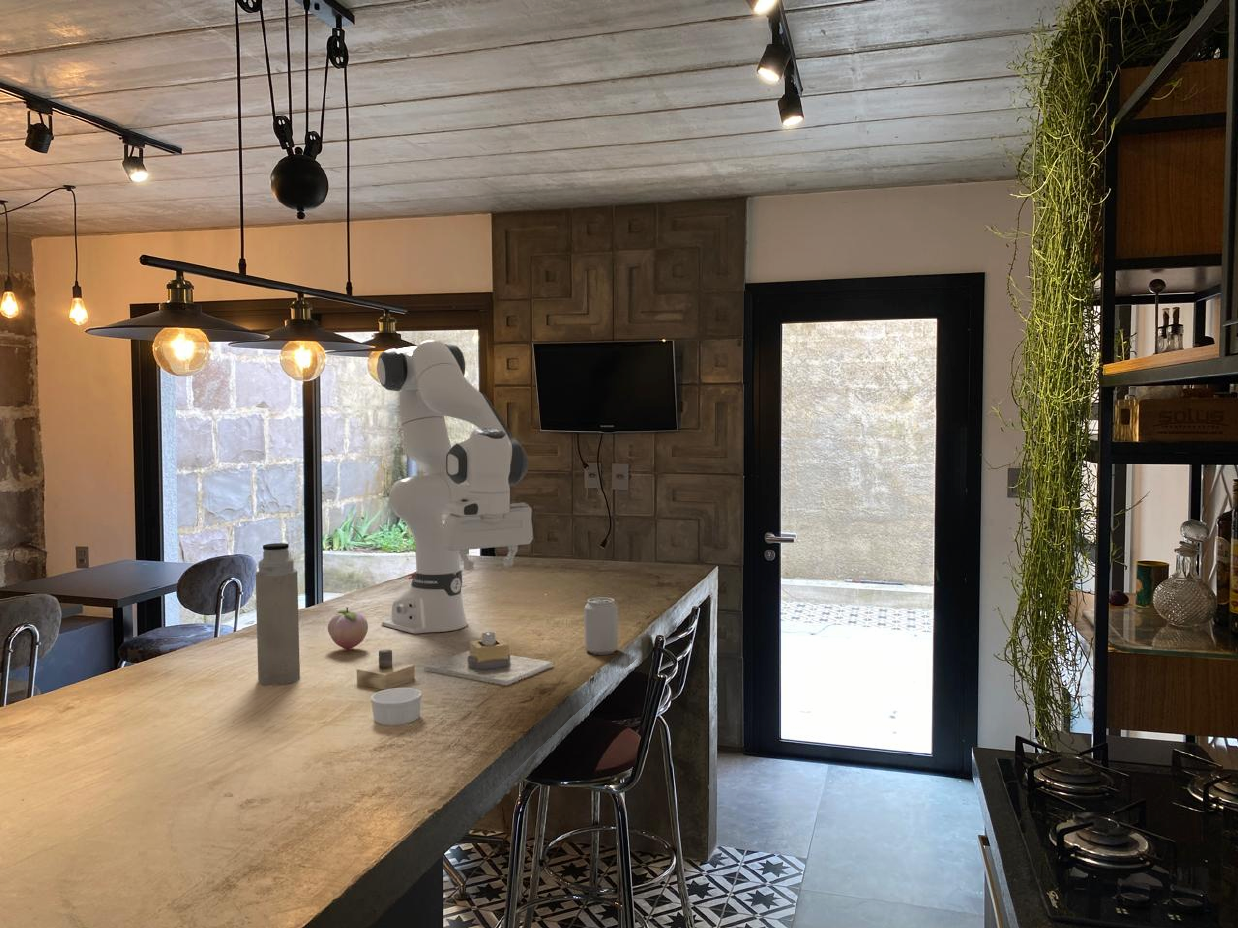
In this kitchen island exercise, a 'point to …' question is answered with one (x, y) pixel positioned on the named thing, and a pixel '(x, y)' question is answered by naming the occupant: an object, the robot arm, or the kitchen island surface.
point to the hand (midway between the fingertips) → (488, 567)
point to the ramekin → (396, 706)
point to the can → (601, 626)
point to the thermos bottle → (277, 617)
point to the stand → (385, 672)
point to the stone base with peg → (489, 666)
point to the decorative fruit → (347, 629)
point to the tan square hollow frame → (488, 651)
